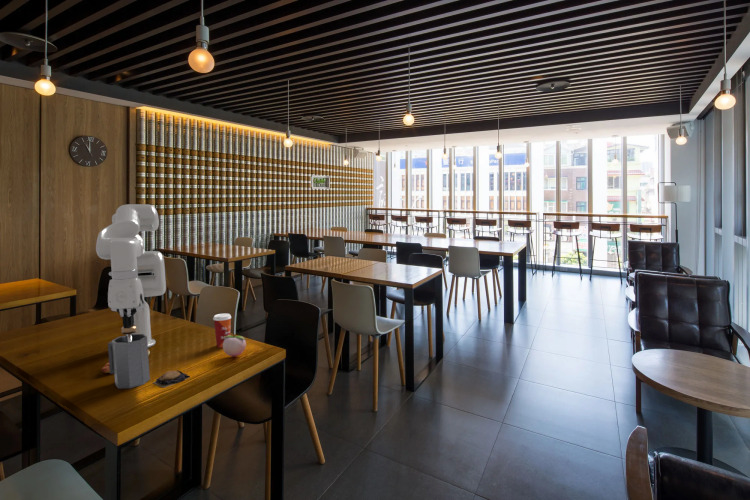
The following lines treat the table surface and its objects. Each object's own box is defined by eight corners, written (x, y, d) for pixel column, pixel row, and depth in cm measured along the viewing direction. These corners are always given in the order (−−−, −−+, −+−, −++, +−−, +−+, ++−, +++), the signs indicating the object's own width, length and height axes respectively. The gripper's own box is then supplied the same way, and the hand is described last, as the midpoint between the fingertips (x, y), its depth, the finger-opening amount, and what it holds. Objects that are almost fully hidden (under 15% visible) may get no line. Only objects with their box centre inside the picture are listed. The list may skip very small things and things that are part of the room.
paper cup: (226, 349, 170) (224, 318, 169) (210, 347, 172) (209, 317, 170) (236, 343, 178) (234, 313, 176) (221, 342, 179) (219, 312, 178)
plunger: (114, 381, 134) (110, 330, 132) (128, 372, 142) (124, 323, 140) (136, 381, 134) (132, 330, 132) (149, 372, 142) (146, 323, 140)
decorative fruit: (219, 361, 156) (218, 337, 155) (225, 353, 165) (224, 331, 163) (243, 360, 157) (242, 336, 156) (248, 353, 165) (247, 330, 164)
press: (102, 388, 133) (99, 343, 131) (121, 376, 143) (118, 334, 141) (138, 388, 133) (135, 343, 131) (154, 376, 143) (151, 334, 141)
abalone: (163, 390, 133) (163, 380, 133) (151, 384, 138) (150, 374, 137) (193, 378, 142) (192, 369, 141) (180, 373, 146) (179, 364, 146)
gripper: (95, 277, 130) (99, 330, 132) (140, 276, 130) (143, 330, 132) (110, 273, 138) (114, 324, 139) (152, 273, 138) (156, 323, 139)
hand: (128, 326), depth 136 cm, fingers closed
